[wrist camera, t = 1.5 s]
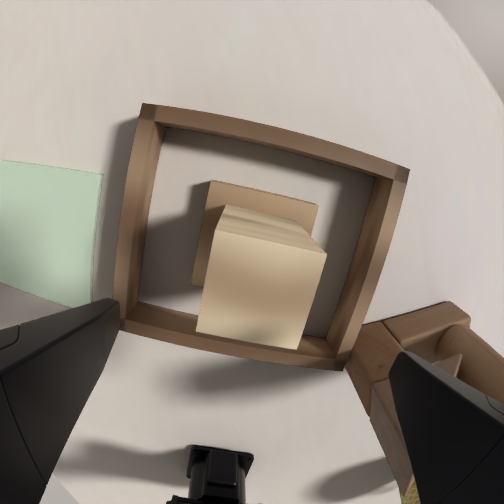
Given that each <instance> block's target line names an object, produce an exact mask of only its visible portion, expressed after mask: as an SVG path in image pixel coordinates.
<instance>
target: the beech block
mask: <svg viewBox="0 0 504 504" xmlns="http://www.w3.org/2000/svg"><path fill="white" fill-rule="evenodd" d="M326 257H327V254H326V252H325V251H324V250H323V249H322V248H321V247H320V246H319V245H318V244H317V243H316V242H315V241H314V239H313V238H312V237H311V236H310V235H309V234H308V233H307V232H306V231H305V230H304V229H303V228H302V227H301V226H300V224H299V223H298V222H297V221H296V220H293V219H288V218H284V217H280V216H275V215H271V214H267V213H262V212H258V211H253V210H249V209H244V208H240V207H235V206H231V205H226V206H225V208H224V211H223V213H222V215H221V217H220V220H219V222H218V224H217V227H216V229H215V233H214V238H213V243H212V248H211V253H210V258H209V263H208V268H207V273H206V278H205V284H204V289H203V294H202V299H201V305H200V310H199V316H198V322H197V327H196V332H201V333H206V334H211V335H215V336H220V337H226V338H231V339H236V340H241V341H247V342H252V343H258V344H264V345H270V346H276V347H282V348H289V349H296V350H297V347H298V344H299V342H300V339H301V336H302V333H303V330H304V327H305V324H306V321H307V318H308V315H309V312H310V309H311V306H312V303H313V300H314V296H315V293H316V290H317V287H318V284H319V280H320V277H321V274H322V271H323V267H324V264H325V261H326Z"/></svg>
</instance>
